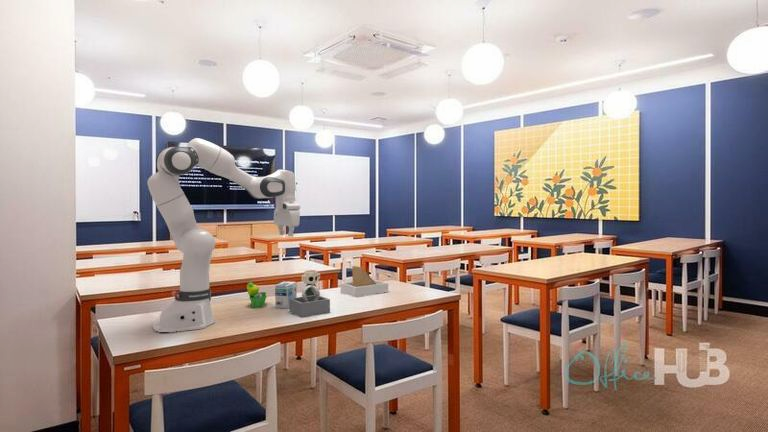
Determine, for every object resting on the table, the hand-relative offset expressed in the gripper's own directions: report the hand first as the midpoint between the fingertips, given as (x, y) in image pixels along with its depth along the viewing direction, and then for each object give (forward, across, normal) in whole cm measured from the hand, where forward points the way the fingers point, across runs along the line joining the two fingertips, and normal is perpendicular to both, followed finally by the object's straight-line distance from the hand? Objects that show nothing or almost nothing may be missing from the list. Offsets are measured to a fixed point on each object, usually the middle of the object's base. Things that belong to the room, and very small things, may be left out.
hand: (286, 235), depth 210 cm
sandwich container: (+34, -9, +52) cm, 63 cm away
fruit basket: (+34, -16, -8) cm, 39 cm away
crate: (+34, +11, +6) cm, 36 cm away
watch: (+33, +11, +6) cm, 36 cm away
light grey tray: (+34, -10, +50) cm, 61 cm away
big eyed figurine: (+34, -20, +23) cm, 46 cm away
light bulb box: (+34, -7, +3) cm, 35 cm away
